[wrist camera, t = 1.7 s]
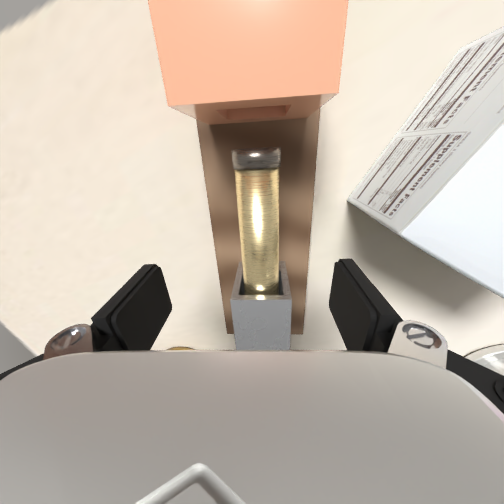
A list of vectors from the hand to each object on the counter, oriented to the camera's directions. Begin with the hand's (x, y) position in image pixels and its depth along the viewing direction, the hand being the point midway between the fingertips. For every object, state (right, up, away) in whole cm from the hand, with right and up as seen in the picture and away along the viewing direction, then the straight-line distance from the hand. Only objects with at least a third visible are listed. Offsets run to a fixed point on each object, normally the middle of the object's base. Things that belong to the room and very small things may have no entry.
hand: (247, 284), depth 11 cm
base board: (+1, +5, +11) cm, 12 cm away
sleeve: (+2, -4, +14) cm, 14 cm away
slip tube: (+1, 0, +9) cm, 9 cm away
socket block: (+1, +15, +5) cm, 15 cm away
